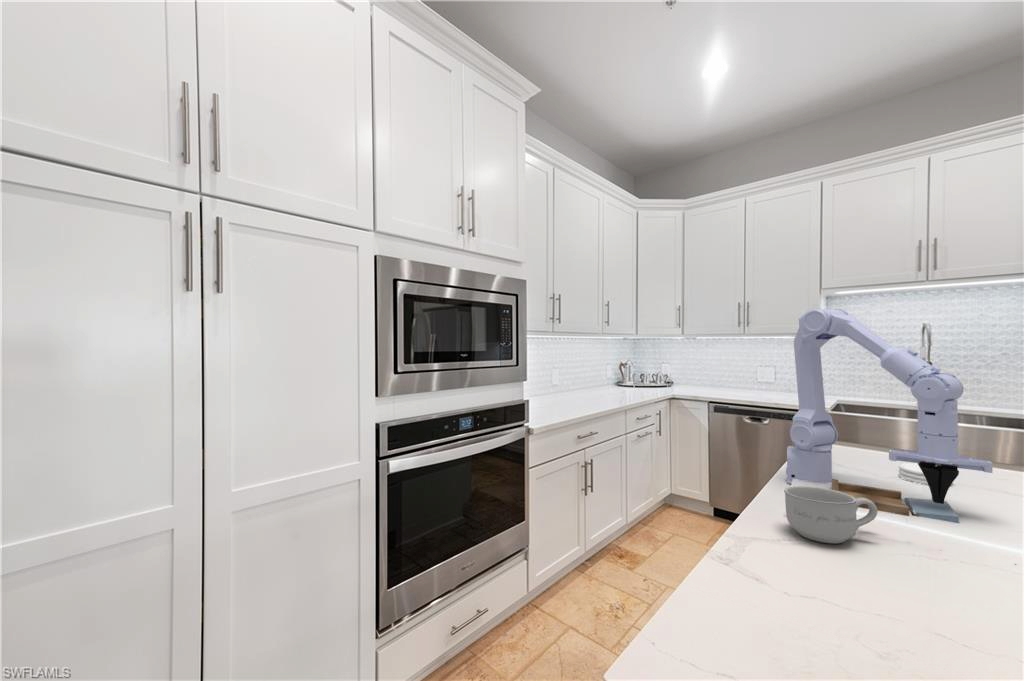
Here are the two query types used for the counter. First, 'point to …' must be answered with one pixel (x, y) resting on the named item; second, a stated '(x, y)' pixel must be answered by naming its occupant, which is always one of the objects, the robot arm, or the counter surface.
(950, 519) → the tailgate
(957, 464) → the robot arm
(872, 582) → the counter surface
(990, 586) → the counter surface
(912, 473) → the coaster
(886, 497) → the wooden tray
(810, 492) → the teacup
